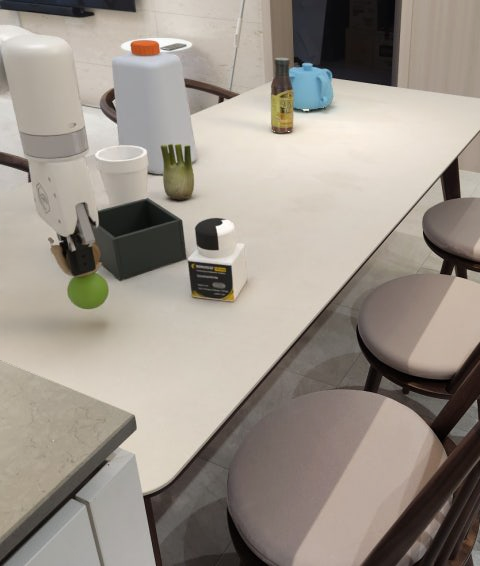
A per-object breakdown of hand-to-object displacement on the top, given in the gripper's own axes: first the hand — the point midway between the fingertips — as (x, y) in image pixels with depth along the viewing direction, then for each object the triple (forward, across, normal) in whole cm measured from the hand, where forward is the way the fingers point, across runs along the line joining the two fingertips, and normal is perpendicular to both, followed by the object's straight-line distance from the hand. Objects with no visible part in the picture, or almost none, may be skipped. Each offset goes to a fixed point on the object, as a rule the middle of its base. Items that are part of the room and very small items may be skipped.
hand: (80, 268), depth 89 cm
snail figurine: (+7, 0, 0) cm, 7 cm away
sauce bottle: (+11, -61, +81) cm, 102 cm away
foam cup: (+11, -33, +22) cm, 41 cm away
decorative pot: (+11, -77, +103) cm, 129 cm away
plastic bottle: (+11, -57, +41) cm, 71 cm away
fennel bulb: (+11, -35, +34) cm, 50 cm away
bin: (+10, -16, +15) cm, 25 cm away
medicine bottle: (+10, +3, +20) cm, 23 cm away
